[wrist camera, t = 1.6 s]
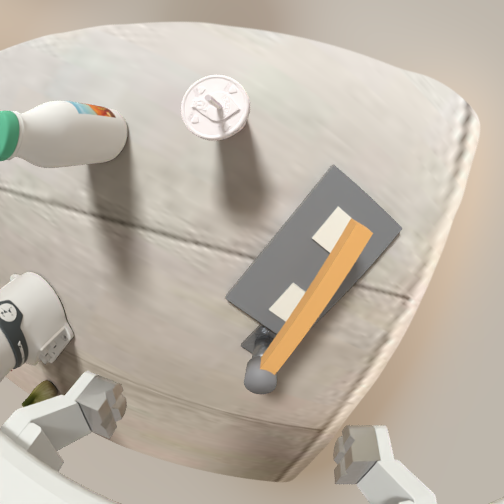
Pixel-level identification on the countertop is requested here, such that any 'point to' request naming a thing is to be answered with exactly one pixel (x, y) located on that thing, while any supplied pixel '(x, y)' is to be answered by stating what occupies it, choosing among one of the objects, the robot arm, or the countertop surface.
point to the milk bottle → (62, 134)
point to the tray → (311, 250)
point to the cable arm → (307, 309)
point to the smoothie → (215, 107)
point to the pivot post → (259, 340)
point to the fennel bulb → (41, 393)
